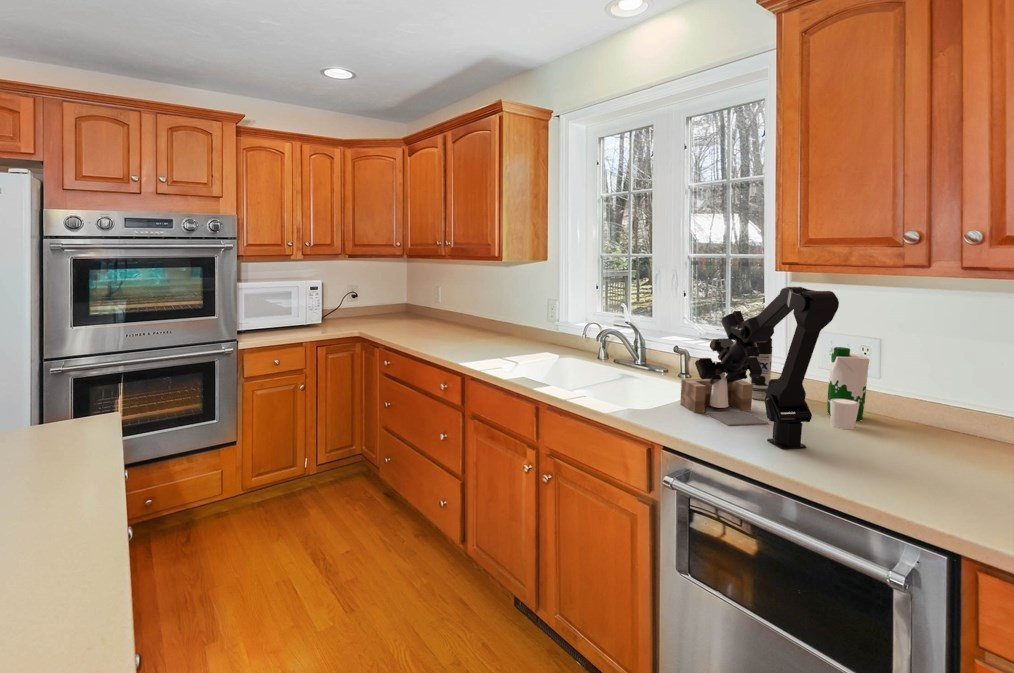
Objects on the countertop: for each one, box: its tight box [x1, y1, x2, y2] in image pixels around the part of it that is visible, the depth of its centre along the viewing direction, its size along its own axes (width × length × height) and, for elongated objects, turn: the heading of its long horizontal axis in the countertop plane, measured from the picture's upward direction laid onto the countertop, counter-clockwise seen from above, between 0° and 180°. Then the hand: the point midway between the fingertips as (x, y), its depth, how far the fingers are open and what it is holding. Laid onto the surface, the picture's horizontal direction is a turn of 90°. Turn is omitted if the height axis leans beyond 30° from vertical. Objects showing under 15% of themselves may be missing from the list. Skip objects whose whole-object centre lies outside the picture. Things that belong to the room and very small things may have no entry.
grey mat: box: [706, 410, 770, 427], centre depth 162 cm, size 12×12×1 cm
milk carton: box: [826, 346, 870, 421], centre depth 163 cm, size 9×9×20 cm
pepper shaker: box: [709, 372, 729, 409], centre depth 171 cm, size 5×5×11 cm
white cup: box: [830, 399, 860, 430], centre depth 155 cm, size 7×7×7 cm
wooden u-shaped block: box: [680, 378, 753, 414], centre depth 174 cm, size 10×18×8 cm, turn 99°
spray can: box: [747, 337, 773, 401], centre depth 185 cm, size 7×7×20 cm
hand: (717, 383), depth 172 cm, fingers closed on pepper shaker, 4 cm apart
